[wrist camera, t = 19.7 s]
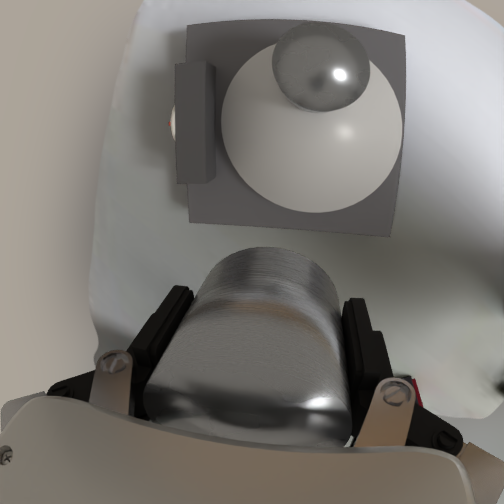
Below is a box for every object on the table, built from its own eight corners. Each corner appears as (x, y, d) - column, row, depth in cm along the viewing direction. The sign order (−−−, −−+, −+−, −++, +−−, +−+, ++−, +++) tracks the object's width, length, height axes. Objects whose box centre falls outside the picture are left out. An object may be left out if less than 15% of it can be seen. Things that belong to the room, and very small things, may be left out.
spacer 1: (348, 251, 11) (378, 370, 6) (328, 363, 13) (329, 474, 8) (194, 243, 12) (116, 342, 6) (208, 353, 14) (168, 454, 9)
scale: (395, 42, 20) (417, 26, 15) (382, 226, 28) (399, 251, 23) (195, 33, 23) (170, 16, 17) (196, 212, 31) (174, 235, 25)
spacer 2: (353, 48, 18) (369, 28, 13) (352, 116, 21) (369, 116, 16) (278, 42, 19) (272, 19, 14) (277, 110, 22) (271, 107, 16)
